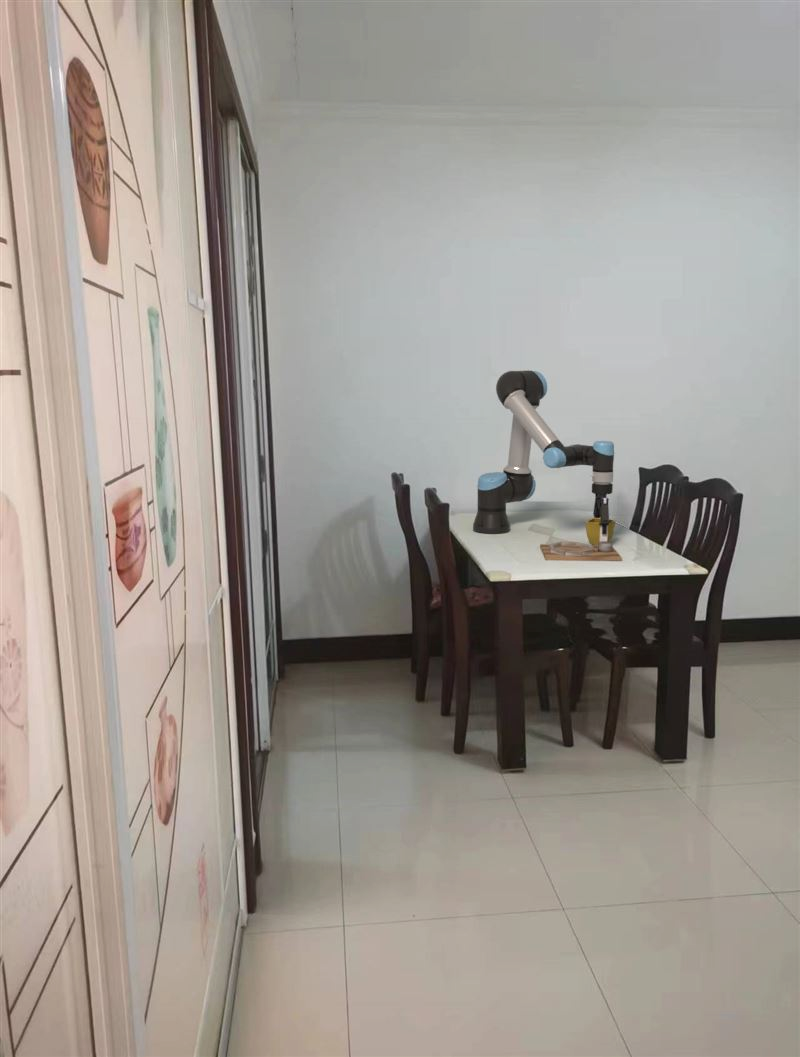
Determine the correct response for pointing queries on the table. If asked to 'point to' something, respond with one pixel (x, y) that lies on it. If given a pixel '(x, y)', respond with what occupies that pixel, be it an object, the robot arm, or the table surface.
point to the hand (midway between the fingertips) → (600, 538)
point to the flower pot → (598, 530)
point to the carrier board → (580, 551)
